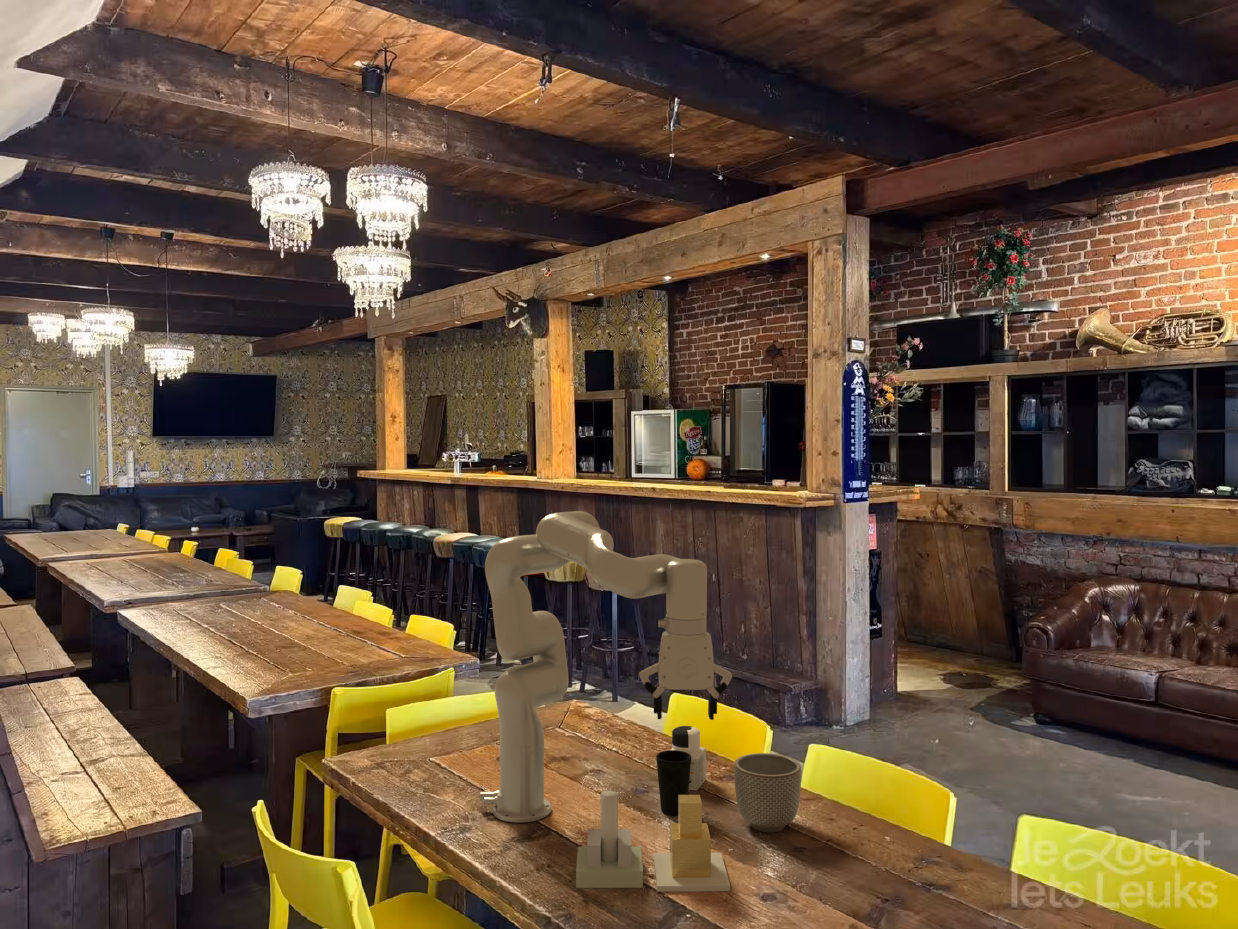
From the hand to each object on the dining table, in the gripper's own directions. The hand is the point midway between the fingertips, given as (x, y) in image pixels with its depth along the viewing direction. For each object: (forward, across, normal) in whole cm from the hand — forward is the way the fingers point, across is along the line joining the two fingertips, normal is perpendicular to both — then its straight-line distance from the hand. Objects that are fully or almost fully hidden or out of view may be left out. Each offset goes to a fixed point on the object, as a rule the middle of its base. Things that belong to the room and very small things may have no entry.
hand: (685, 717), depth 167 cm
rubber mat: (+29, +1, -2) cm, 29 cm away
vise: (+29, -14, -2) cm, 32 cm away
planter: (+29, +19, +19) cm, 40 cm away
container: (+29, +4, +43) cm, 52 cm away
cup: (+29, 0, +27) cm, 40 cm away
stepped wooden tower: (+28, +1, -2) cm, 28 cm away
